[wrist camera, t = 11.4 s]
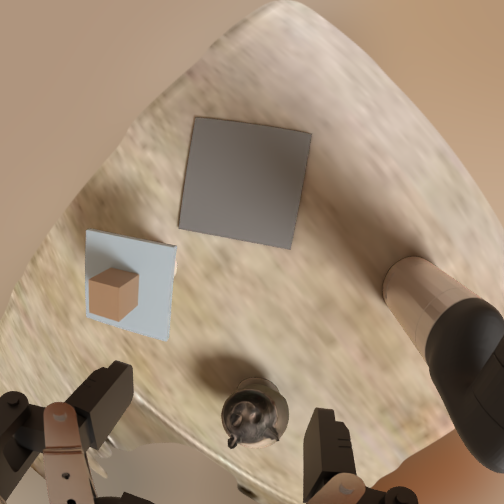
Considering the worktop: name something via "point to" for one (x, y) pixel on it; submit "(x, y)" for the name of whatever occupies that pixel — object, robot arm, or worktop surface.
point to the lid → (129, 282)
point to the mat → (244, 181)
